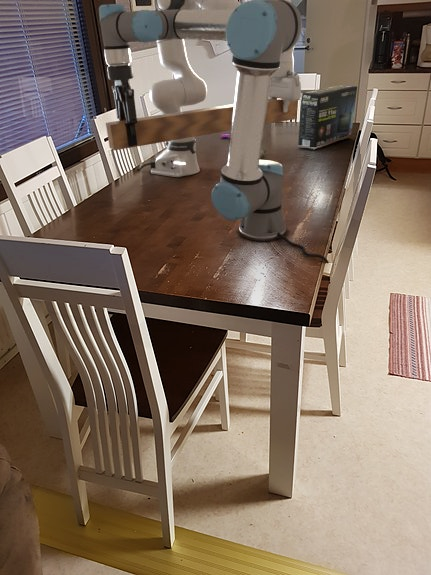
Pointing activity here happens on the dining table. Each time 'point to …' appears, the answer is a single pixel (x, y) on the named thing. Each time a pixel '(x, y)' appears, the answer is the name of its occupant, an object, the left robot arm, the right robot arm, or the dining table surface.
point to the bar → (189, 124)
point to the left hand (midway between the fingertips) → (279, 110)
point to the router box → (326, 115)
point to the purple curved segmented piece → (225, 135)
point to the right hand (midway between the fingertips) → (130, 143)
